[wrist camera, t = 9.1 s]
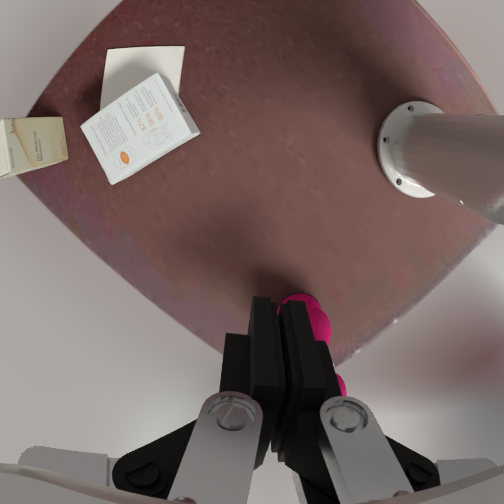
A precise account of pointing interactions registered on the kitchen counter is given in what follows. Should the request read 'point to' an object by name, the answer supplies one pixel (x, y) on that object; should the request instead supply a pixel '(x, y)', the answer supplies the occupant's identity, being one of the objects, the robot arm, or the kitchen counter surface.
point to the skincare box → (31, 144)
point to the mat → (139, 68)
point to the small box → (139, 127)
